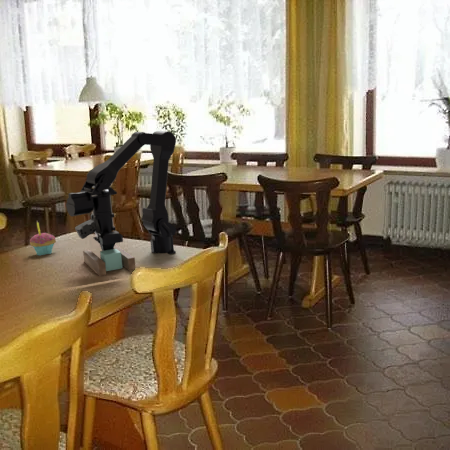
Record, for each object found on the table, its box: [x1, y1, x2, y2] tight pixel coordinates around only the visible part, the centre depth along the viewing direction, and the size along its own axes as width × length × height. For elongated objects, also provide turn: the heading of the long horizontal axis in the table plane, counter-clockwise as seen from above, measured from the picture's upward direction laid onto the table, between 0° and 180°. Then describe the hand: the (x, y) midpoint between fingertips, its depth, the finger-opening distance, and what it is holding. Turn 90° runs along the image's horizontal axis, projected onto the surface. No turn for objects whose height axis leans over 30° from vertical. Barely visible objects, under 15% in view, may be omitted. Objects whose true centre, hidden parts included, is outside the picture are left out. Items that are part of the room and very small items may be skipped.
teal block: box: [99, 249, 123, 272], centre depth 196 cm, size 5×5×5 cm
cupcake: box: [29, 220, 57, 256], centre depth 219 cm, size 9×8×12 cm
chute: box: [82, 244, 137, 277], centre depth 199 cm, size 11×18×4 cm, turn 26°
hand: (107, 260), depth 201 cm, fingers closed
